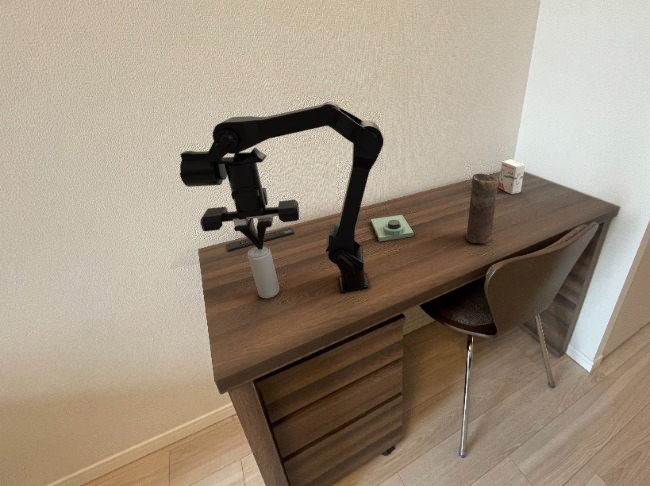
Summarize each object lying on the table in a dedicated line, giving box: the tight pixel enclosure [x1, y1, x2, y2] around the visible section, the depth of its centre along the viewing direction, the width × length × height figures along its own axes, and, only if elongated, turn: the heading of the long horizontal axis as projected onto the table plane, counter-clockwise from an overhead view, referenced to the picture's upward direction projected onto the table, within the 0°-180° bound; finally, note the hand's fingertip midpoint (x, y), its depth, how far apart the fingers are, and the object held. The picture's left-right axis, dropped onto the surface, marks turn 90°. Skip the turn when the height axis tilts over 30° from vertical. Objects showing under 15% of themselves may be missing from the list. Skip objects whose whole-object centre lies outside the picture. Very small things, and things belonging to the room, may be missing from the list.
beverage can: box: [247, 245, 280, 299], centre depth 74 cm, size 5×5×12 cm
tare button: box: [388, 220, 400, 229], centre depth 100 cm, size 4×4×2 cm
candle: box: [466, 173, 499, 244], centre depth 93 cm, size 8×7×20 cm
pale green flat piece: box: [370, 214, 415, 242], centre depth 103 cm, size 13×11×3 cm
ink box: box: [497, 159, 526, 195], centre depth 130 cm, size 9×5×12 cm, turn 25°
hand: (260, 248), depth 72 cm, fingers closed
